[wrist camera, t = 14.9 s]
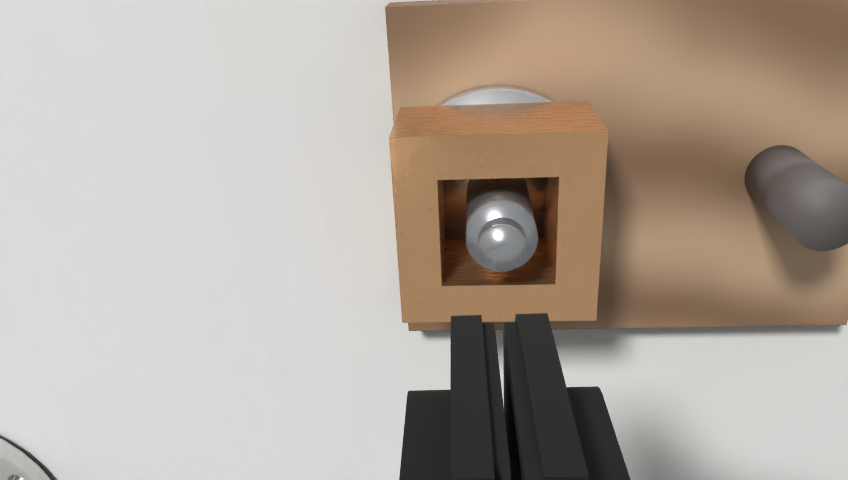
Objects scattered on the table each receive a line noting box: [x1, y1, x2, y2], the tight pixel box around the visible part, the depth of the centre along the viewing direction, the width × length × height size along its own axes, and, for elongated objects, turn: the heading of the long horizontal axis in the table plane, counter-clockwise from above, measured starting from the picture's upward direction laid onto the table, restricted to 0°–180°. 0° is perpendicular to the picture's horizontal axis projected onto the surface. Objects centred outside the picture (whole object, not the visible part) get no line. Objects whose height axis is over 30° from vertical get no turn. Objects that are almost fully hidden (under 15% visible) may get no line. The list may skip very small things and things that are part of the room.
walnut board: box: [385, 0, 848, 331], centre depth 27 cm, size 14×19×6 cm
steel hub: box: [436, 84, 556, 272], centre depth 25 cm, size 8×8×6 cm
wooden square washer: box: [389, 101, 608, 323], centre depth 26 cm, size 7×7×4 cm
